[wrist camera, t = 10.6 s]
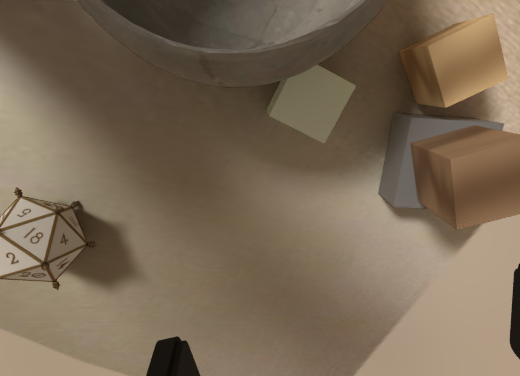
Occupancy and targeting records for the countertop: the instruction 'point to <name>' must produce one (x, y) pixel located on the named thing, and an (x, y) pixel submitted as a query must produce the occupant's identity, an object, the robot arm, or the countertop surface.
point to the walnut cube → (468, 175)
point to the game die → (39, 240)
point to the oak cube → (455, 62)
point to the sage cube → (311, 101)
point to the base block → (400, 157)
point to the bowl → (233, 35)
